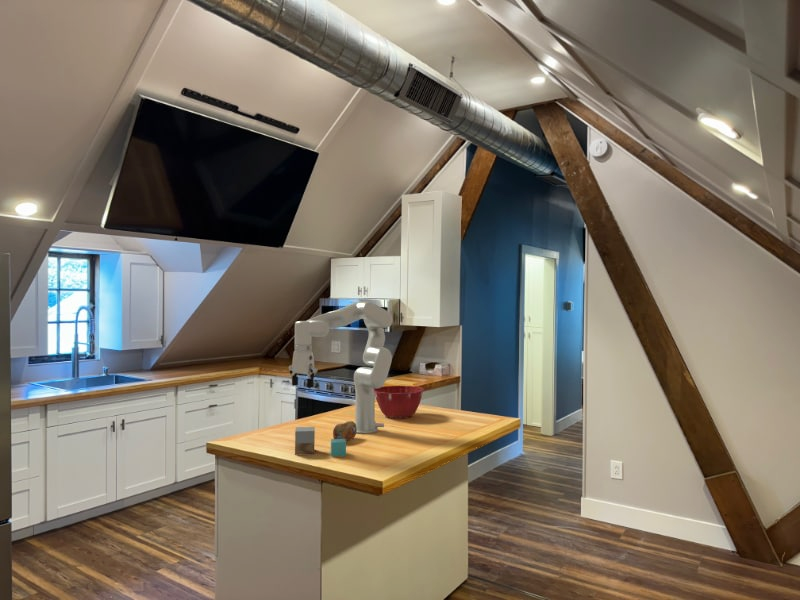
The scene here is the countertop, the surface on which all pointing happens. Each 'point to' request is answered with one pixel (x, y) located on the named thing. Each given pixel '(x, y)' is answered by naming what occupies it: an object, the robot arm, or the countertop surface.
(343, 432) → the tin
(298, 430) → the block
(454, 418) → the countertop surface
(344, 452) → the teal cube
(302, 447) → the tower base
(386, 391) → the mixing bowl
